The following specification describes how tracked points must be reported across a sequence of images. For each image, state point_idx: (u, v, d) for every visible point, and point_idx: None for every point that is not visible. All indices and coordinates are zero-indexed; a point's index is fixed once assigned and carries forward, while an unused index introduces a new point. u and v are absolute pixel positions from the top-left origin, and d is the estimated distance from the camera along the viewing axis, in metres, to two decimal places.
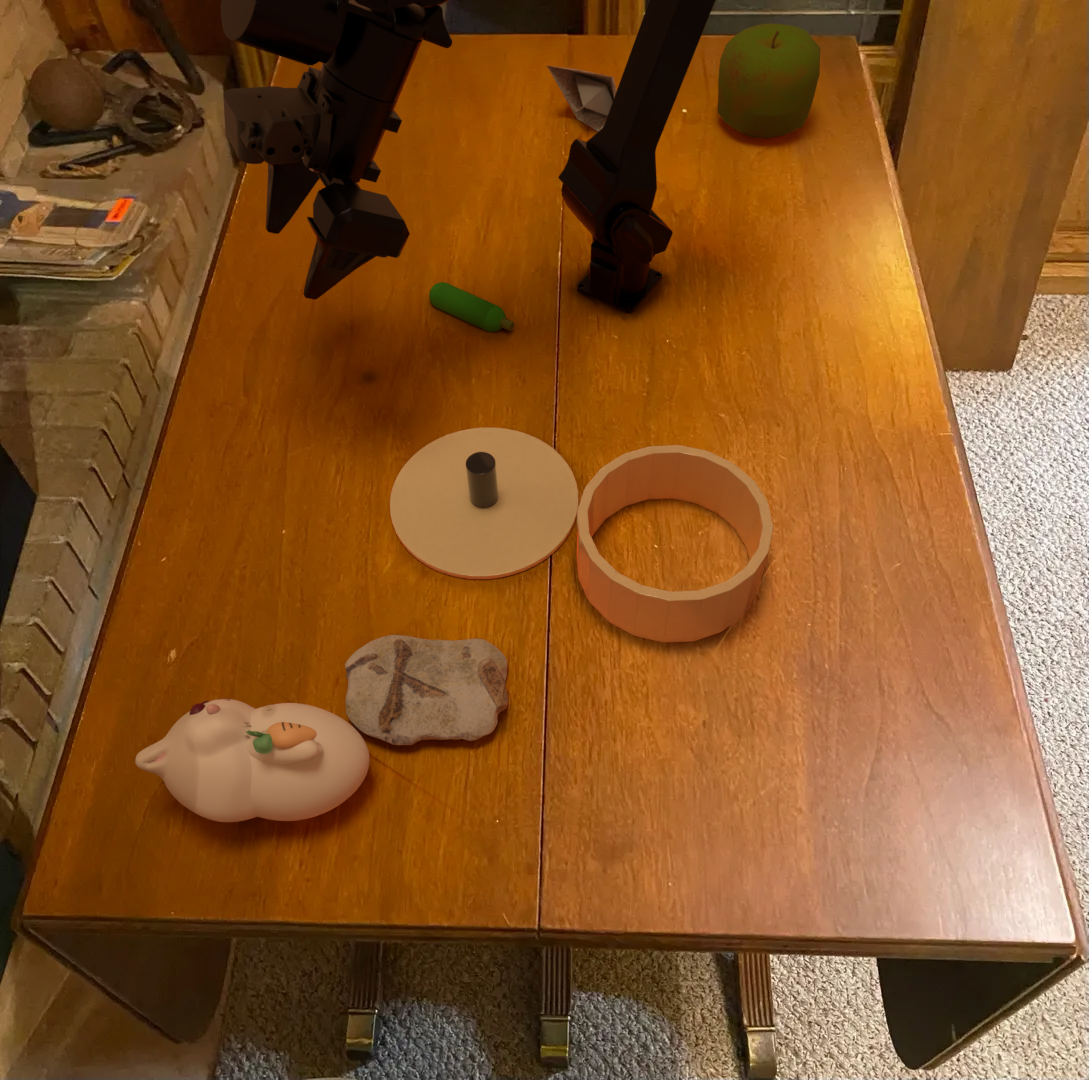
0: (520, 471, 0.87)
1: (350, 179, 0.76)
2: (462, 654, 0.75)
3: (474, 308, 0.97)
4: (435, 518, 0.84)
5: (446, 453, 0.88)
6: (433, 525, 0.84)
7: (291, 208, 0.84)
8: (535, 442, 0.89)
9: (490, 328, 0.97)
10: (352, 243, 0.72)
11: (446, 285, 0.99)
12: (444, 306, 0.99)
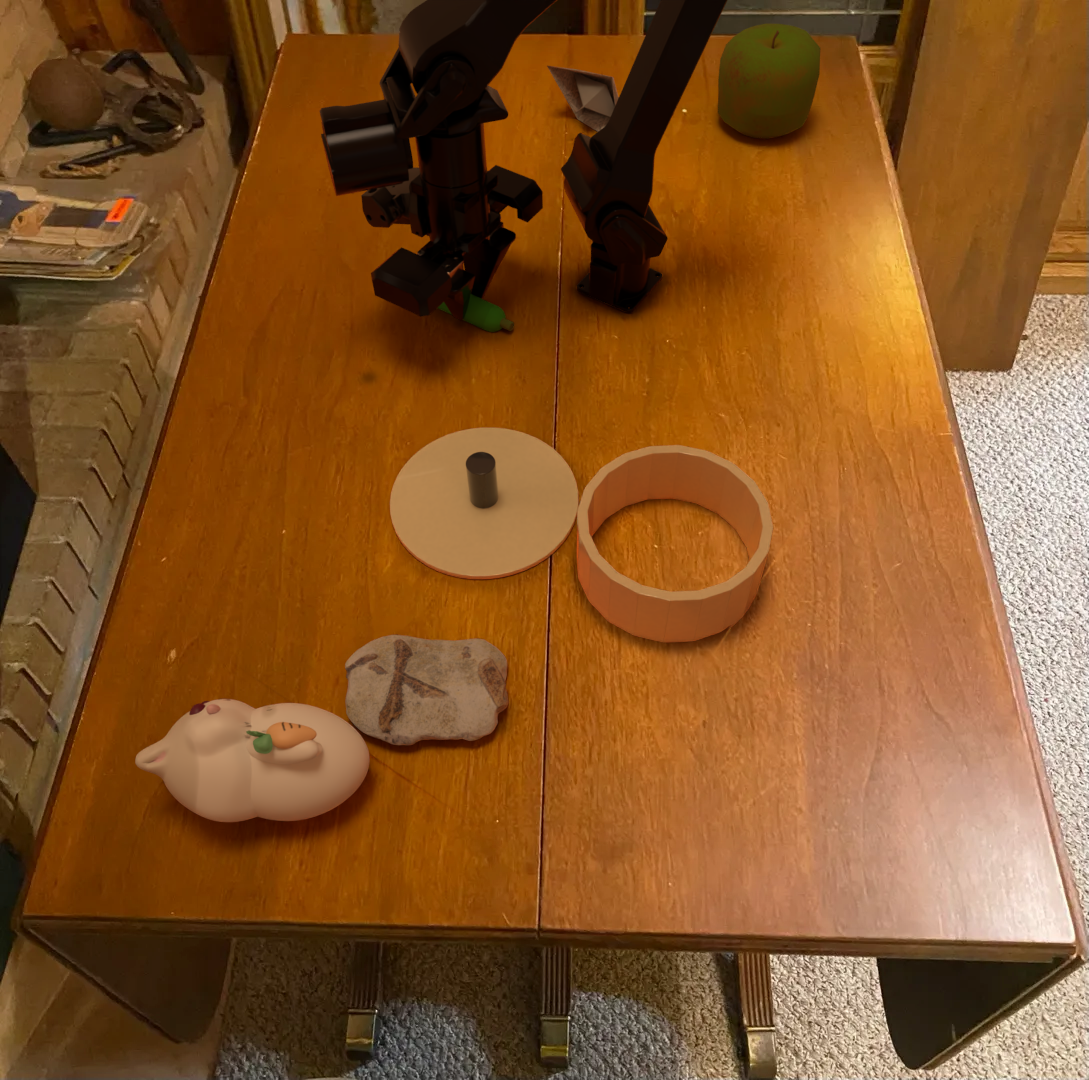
0: (520, 471, 0.87)
1: (442, 247, 0.90)
2: (462, 654, 0.75)
3: (474, 308, 0.97)
4: (435, 518, 0.84)
5: (446, 453, 0.88)
6: (433, 525, 0.84)
7: (480, 284, 0.97)
8: (535, 442, 0.89)
9: (490, 328, 0.97)
10: (384, 296, 0.89)
11: None
12: (444, 306, 0.99)
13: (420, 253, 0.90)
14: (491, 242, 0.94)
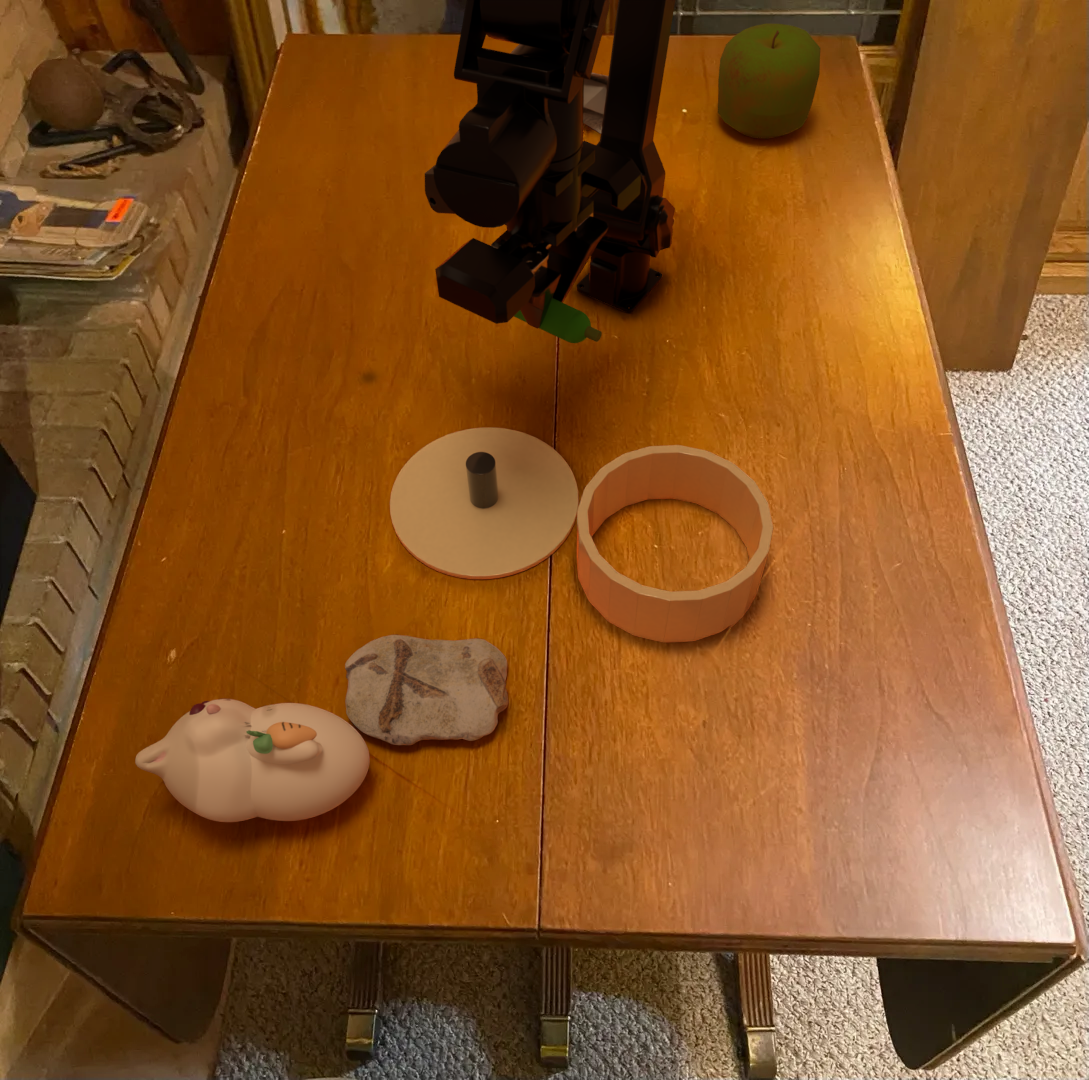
0: (520, 471, 0.87)
1: (523, 239, 0.73)
2: (462, 654, 0.75)
3: (554, 314, 0.80)
4: (435, 518, 0.84)
5: (446, 453, 0.88)
6: (433, 525, 0.84)
7: (562, 285, 0.80)
8: (535, 442, 0.89)
9: (572, 338, 0.80)
10: (451, 298, 0.72)
11: None
12: None
13: (495, 246, 0.73)
14: (579, 234, 0.77)
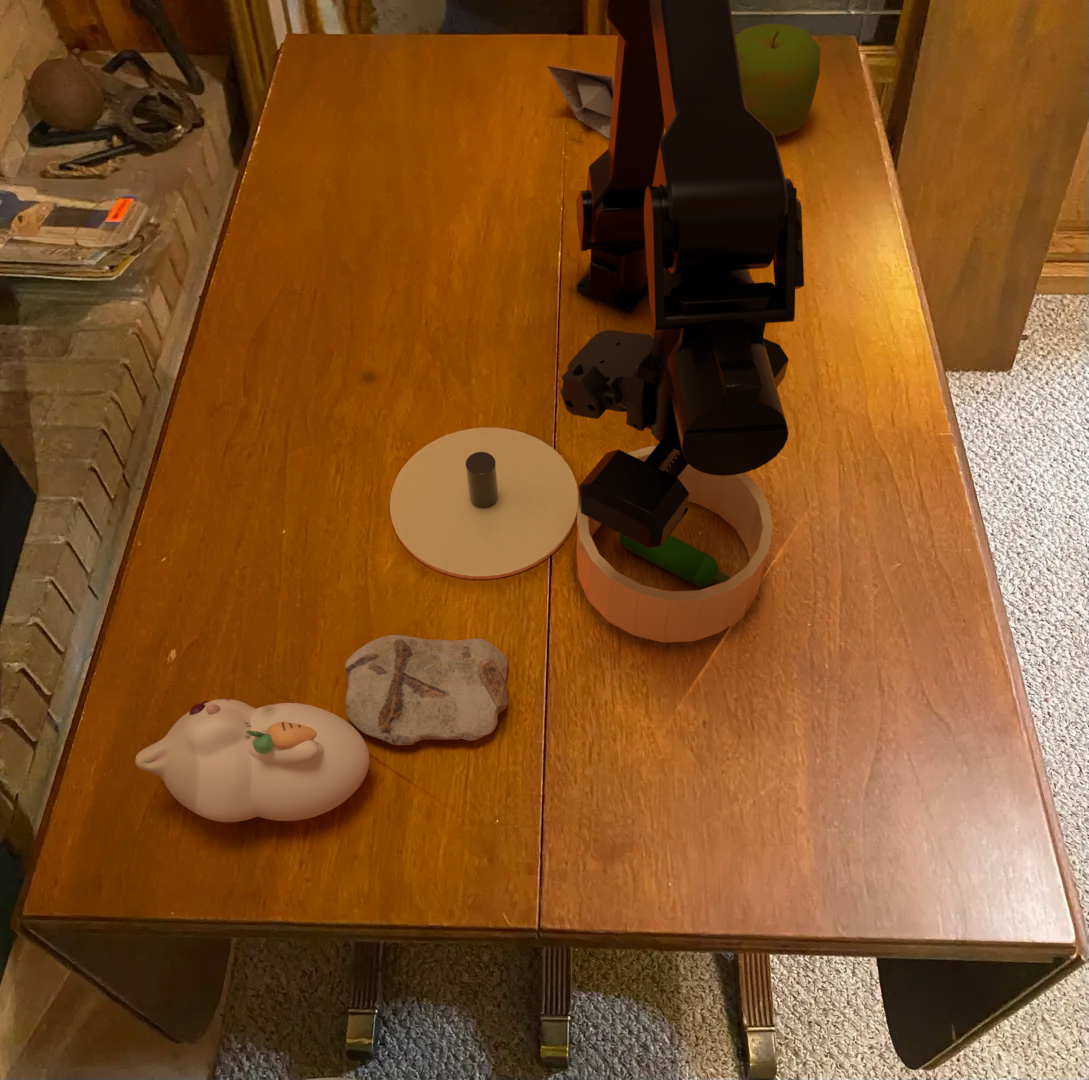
0: (520, 471, 0.87)
1: (671, 447, 0.66)
2: (462, 654, 0.75)
3: (681, 559, 0.79)
4: (435, 518, 0.84)
5: (446, 453, 0.88)
6: (433, 525, 0.84)
7: None
8: (535, 442, 0.89)
9: (701, 584, 0.79)
10: (596, 517, 0.65)
11: None
12: (641, 552, 0.81)
13: None
14: None
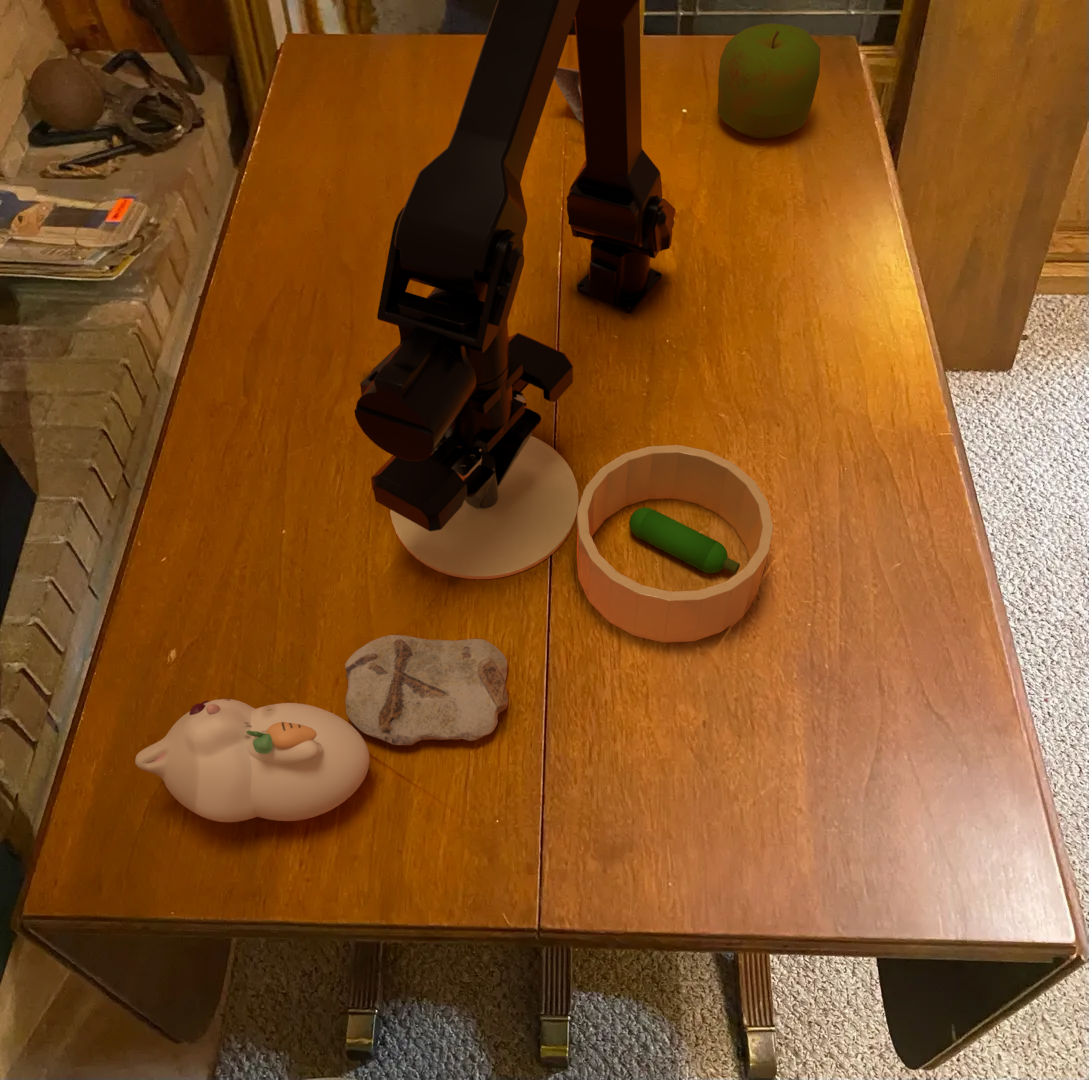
0: (520, 471, 0.87)
1: (456, 443, 0.76)
2: (462, 654, 0.75)
3: (700, 534, 0.81)
4: None
5: None
6: None
7: (499, 469, 0.83)
8: (535, 442, 0.89)
9: (715, 557, 0.79)
10: (387, 504, 0.75)
11: None
12: (657, 523, 0.81)
13: None
14: (512, 427, 0.80)
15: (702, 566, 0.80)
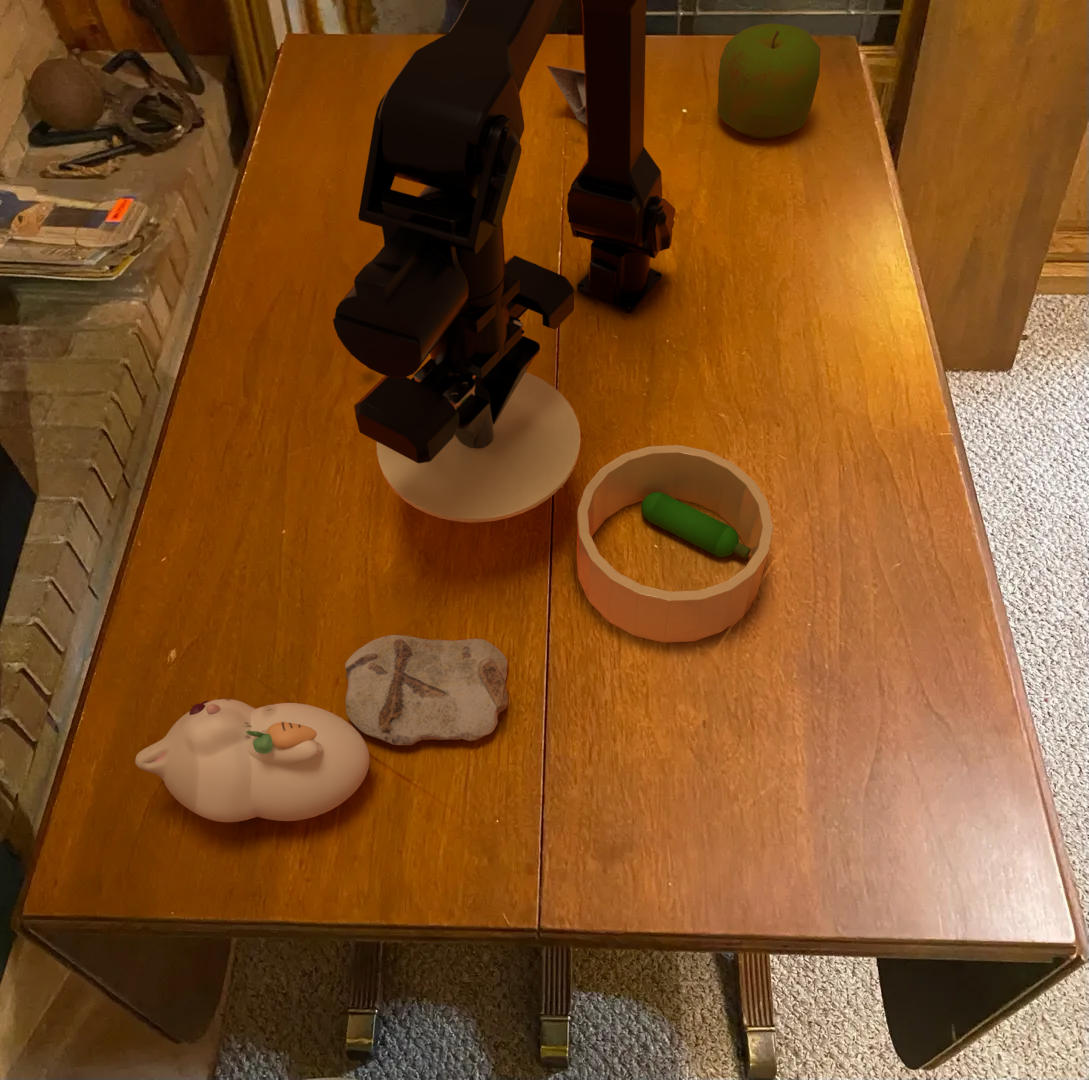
0: (517, 410, 0.81)
1: (447, 370, 0.69)
2: (462, 655, 0.75)
3: None
4: None
5: None
6: (423, 466, 0.77)
7: (494, 405, 0.77)
8: (533, 380, 0.82)
9: (735, 531, 0.81)
10: (372, 435, 0.68)
11: None
12: None
13: (418, 377, 0.70)
14: (509, 356, 0.74)
15: (723, 530, 0.80)
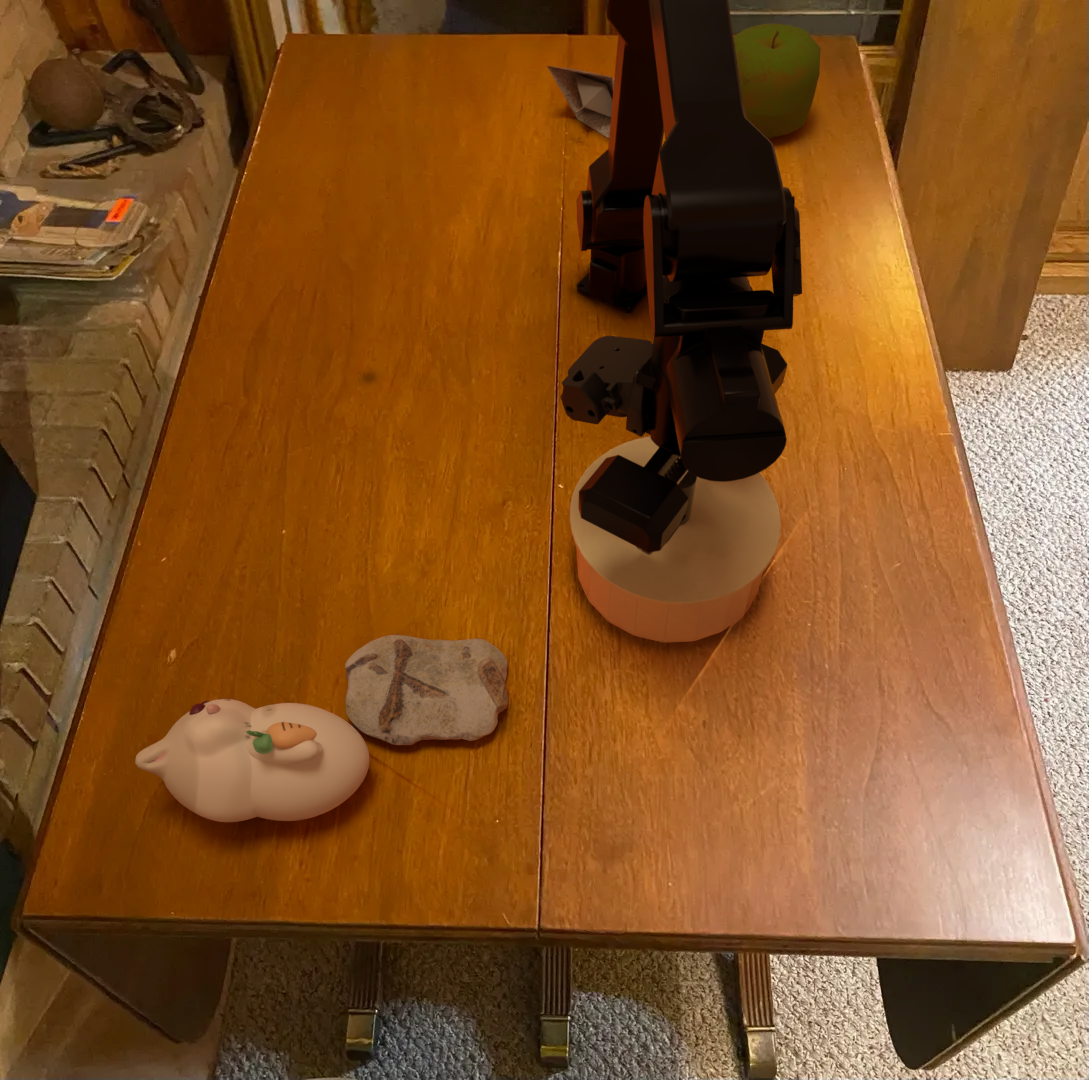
0: (711, 484, 0.78)
1: (671, 452, 0.67)
2: (462, 654, 0.75)
3: None
4: None
5: None
6: (622, 545, 0.75)
7: None
8: None
9: None
10: (596, 522, 0.66)
11: None
12: None
13: None
14: None
15: None
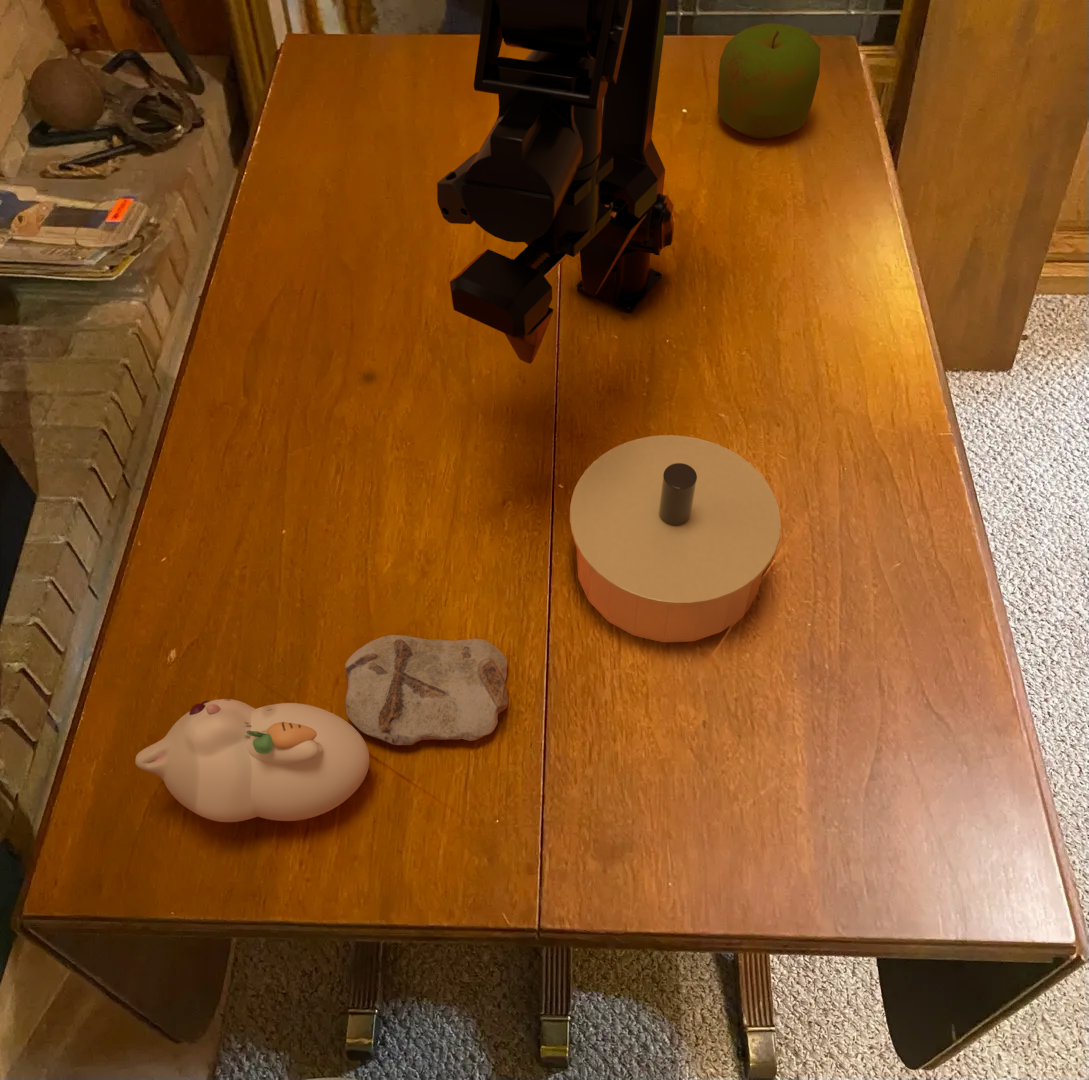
0: (711, 484, 0.78)
1: (539, 249, 0.71)
2: (462, 654, 0.75)
3: None
4: (623, 537, 0.75)
5: (625, 464, 0.79)
6: (622, 545, 0.75)
7: (599, 272, 0.80)
8: (723, 451, 0.80)
9: None
10: (467, 311, 0.70)
11: None
12: None
13: None
14: (617, 220, 0.77)
15: None
